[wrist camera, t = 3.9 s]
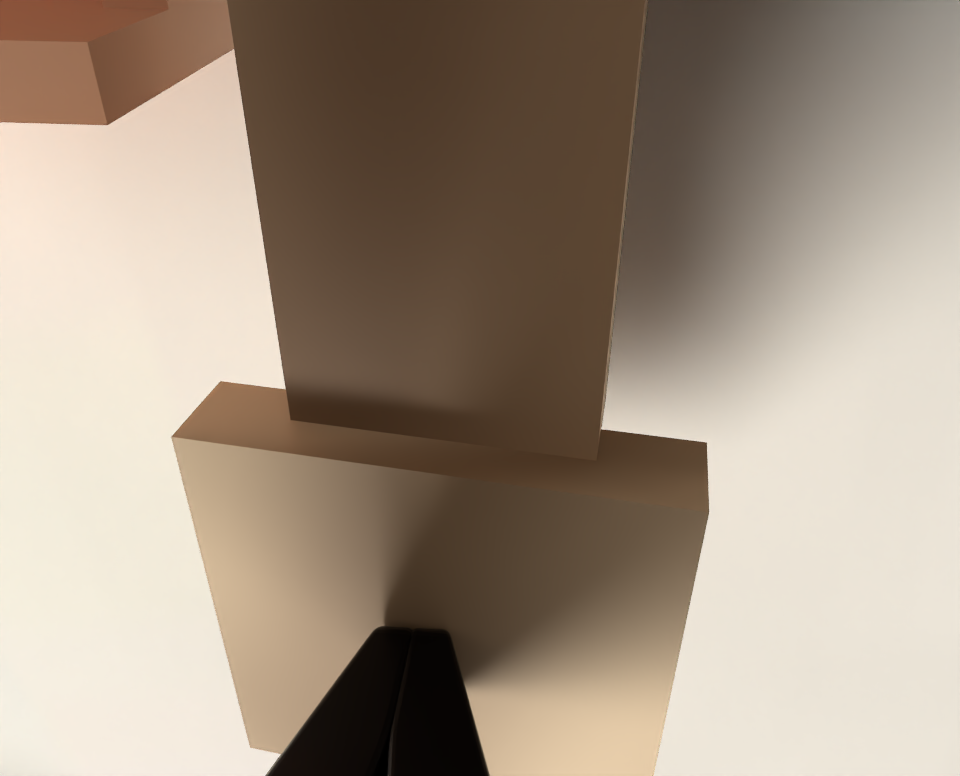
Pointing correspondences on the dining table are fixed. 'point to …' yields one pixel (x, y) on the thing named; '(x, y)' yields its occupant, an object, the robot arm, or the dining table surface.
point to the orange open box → (101, 55)
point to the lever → (447, 379)
